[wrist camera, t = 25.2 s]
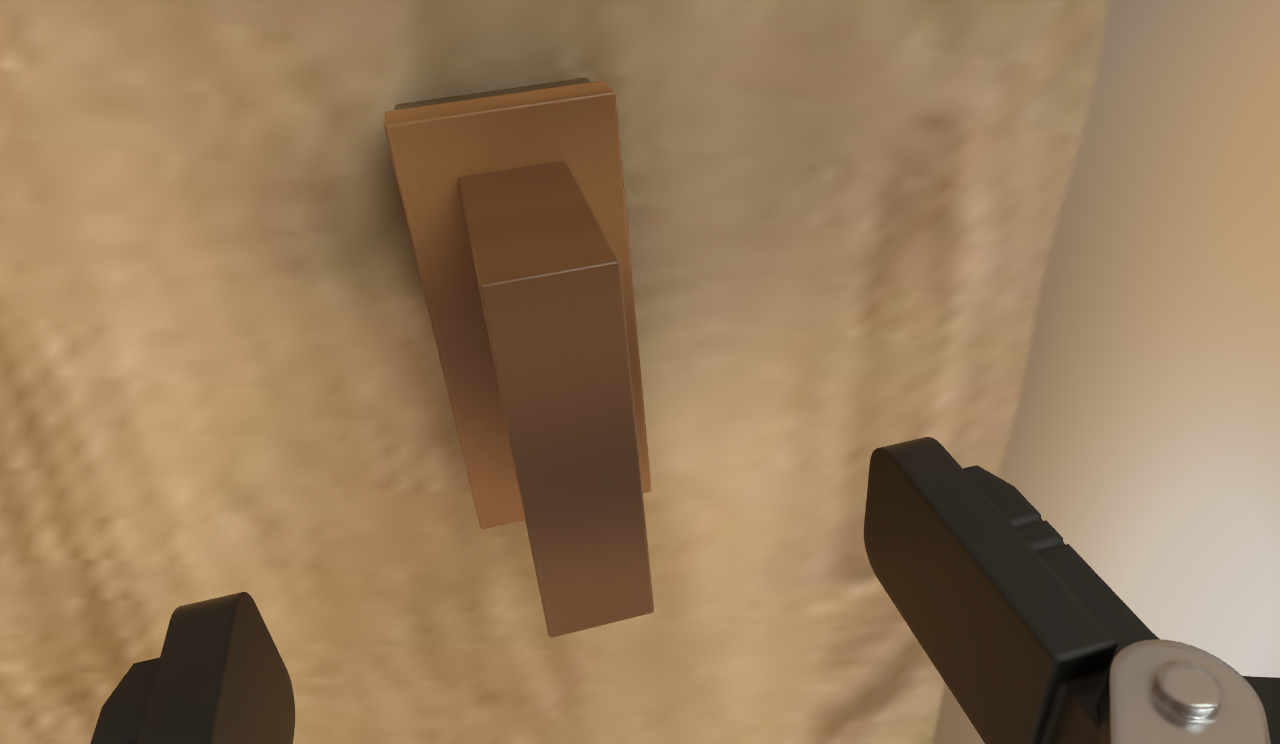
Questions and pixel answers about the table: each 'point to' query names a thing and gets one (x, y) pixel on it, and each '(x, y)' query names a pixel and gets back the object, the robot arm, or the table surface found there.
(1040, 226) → the table surface
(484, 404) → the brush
